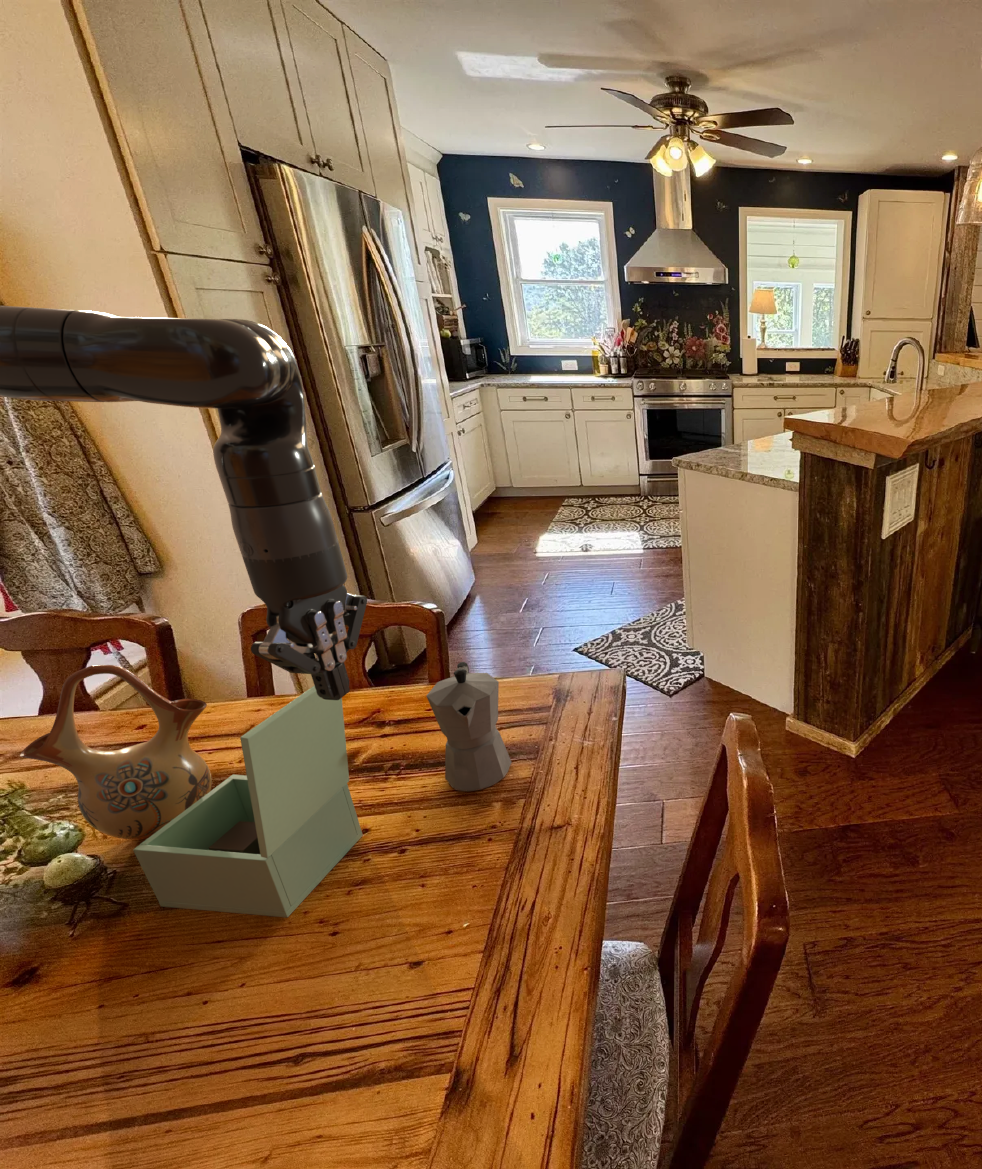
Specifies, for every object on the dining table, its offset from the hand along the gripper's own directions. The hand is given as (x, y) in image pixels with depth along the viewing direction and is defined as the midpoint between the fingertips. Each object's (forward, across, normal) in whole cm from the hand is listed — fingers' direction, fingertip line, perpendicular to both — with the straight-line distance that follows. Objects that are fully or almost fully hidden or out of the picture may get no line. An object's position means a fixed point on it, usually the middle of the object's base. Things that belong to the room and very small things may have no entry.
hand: (336, 695), depth 66 cm
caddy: (+26, 0, +16) cm, 31 cm away
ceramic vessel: (+27, +5, +35) cm, 44 cm away
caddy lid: (+9, 0, +7) cm, 12 cm away
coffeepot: (+27, +21, 0) cm, 34 cm away
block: (+26, 0, +18) cm, 31 cm away
